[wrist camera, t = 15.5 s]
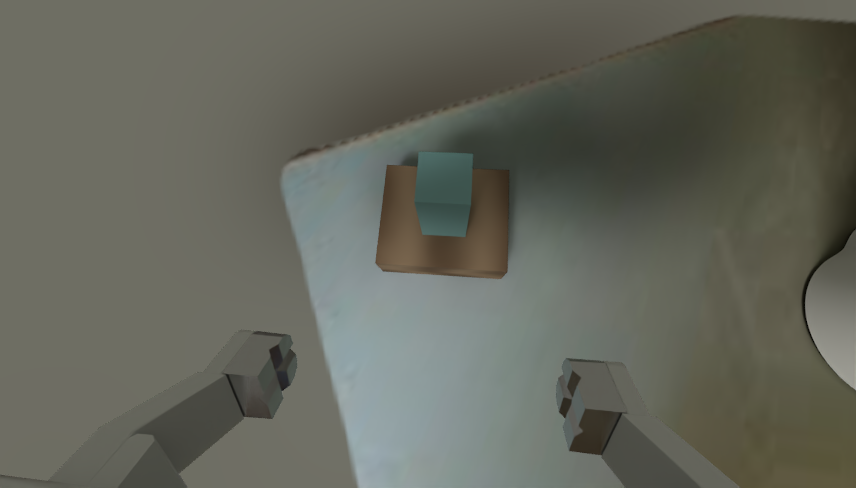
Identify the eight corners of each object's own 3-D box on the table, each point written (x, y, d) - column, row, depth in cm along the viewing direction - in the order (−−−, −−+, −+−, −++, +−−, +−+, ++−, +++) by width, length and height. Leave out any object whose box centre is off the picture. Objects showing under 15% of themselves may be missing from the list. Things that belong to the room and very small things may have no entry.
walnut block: (502, 187, 37) (509, 170, 33) (500, 279, 34) (507, 271, 31) (393, 182, 38) (387, 165, 34) (383, 271, 35) (375, 263, 32)
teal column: (467, 196, 33) (473, 153, 25) (465, 236, 32) (471, 204, 24) (425, 194, 33) (418, 151, 25) (422, 234, 32) (414, 201, 24)
